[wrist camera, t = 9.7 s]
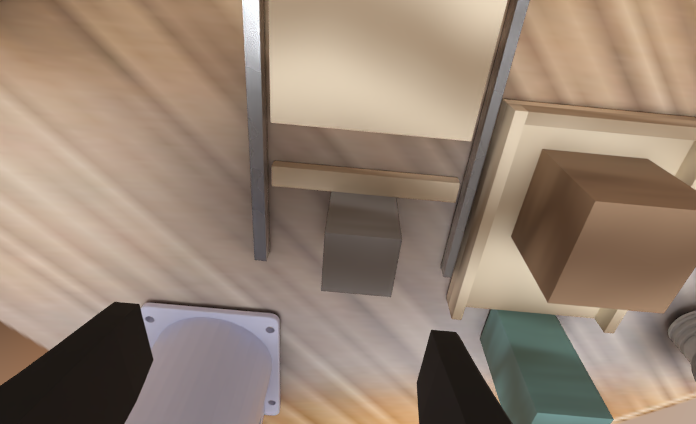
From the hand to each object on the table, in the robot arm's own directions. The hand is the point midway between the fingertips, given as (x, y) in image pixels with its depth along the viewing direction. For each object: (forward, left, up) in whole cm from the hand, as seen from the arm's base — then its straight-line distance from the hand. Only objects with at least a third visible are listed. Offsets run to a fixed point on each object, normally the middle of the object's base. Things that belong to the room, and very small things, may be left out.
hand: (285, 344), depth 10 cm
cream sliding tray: (-3, -12, -10) cm, 16 cm away
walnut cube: (0, -12, -9) cm, 15 cm away
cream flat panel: (+3, -2, -10) cm, 11 cm away
